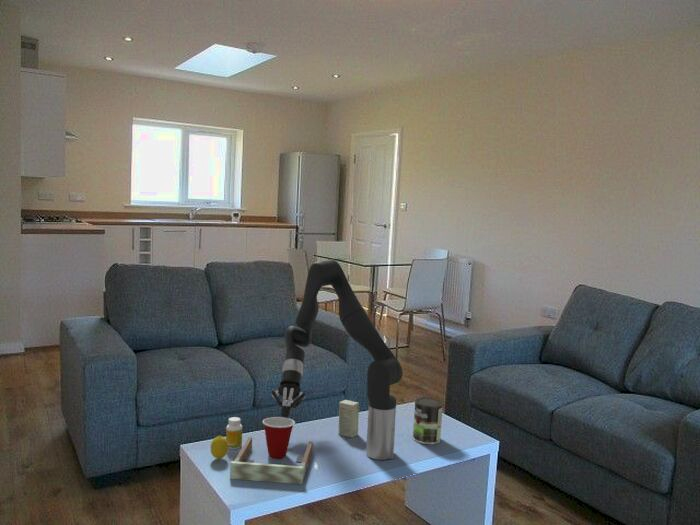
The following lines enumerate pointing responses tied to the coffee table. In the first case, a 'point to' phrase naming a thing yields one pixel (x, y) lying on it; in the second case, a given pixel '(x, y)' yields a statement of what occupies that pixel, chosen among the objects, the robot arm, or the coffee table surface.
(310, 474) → the coffee table surface
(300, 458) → the pads
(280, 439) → the plastic cup
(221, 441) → the lemon
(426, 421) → the coffee can
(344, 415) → the skincare box
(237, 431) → the supplement bottle
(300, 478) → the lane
